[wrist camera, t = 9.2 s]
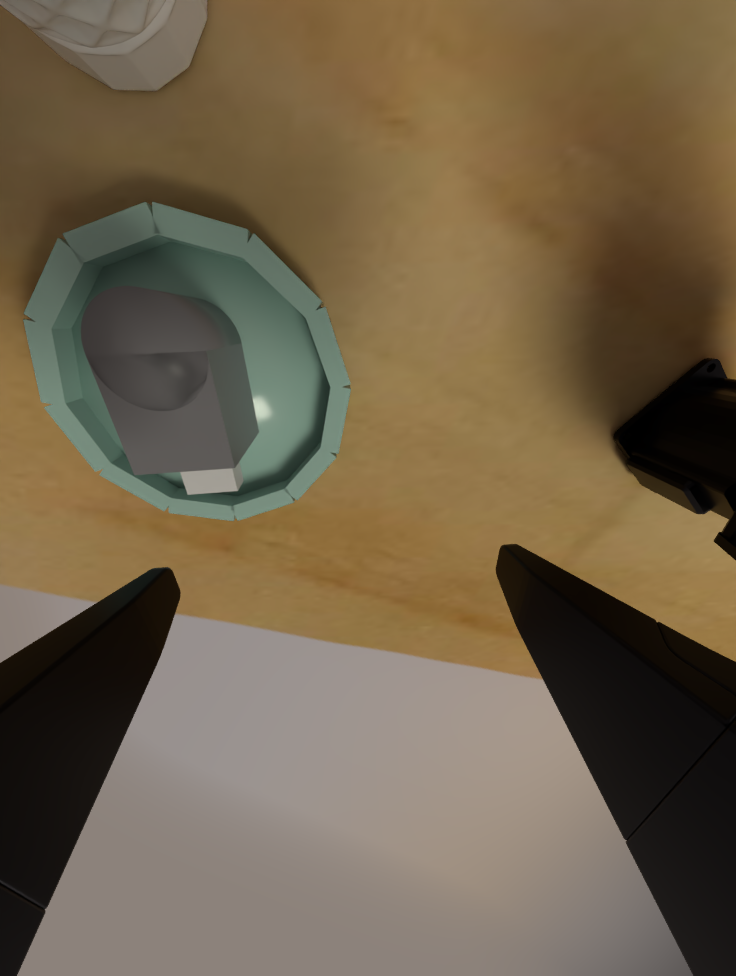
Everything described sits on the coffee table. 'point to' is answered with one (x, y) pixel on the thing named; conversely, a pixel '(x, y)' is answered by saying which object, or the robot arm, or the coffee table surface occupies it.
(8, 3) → the white cup
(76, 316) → the dish
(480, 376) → the coffee table surface
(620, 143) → the coffee table surface
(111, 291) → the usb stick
